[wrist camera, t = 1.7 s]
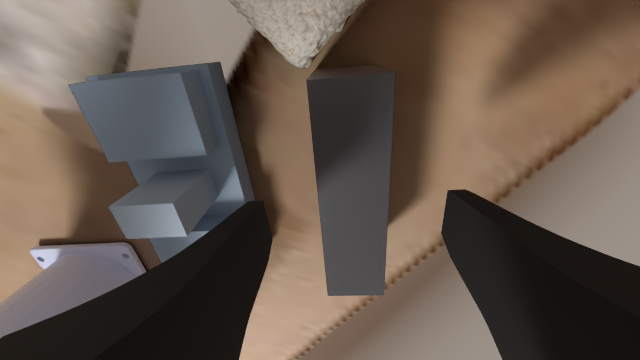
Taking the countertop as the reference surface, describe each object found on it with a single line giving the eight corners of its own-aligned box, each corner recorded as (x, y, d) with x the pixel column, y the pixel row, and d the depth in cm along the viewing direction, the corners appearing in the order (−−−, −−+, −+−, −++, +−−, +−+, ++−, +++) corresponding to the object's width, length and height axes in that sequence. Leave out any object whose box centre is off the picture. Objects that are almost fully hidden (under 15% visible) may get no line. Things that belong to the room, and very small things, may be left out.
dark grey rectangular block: (372, 238, 18) (383, 295, 14) (329, 239, 18) (327, 295, 14) (376, 64, 12) (395, 72, 8) (315, 69, 13) (306, 79, 9)
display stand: (266, 244, 18) (244, 308, 14) (187, 248, 19) (142, 310, 14) (220, 61, 13) (159, 70, 8) (110, 73, 13) (-2, 87, 9)
